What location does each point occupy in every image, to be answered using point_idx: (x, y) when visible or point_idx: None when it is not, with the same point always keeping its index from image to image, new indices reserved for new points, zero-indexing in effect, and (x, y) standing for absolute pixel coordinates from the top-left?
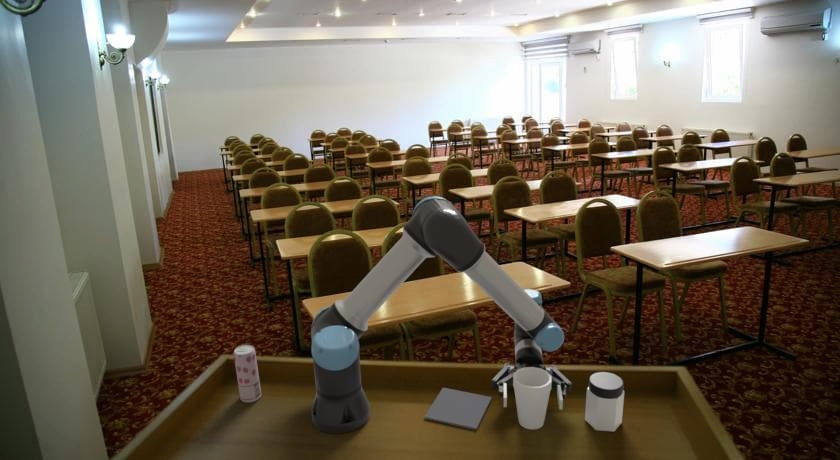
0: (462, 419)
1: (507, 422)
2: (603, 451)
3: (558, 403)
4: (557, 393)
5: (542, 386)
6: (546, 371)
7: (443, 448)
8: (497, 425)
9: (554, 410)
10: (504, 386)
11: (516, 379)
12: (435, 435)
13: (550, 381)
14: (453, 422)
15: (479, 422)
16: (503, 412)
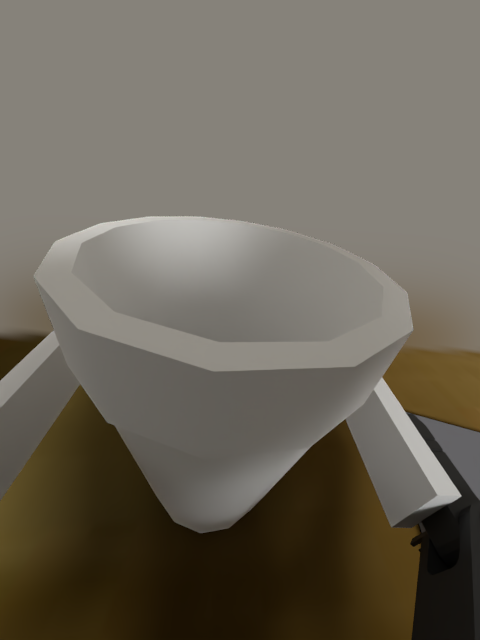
0: (462, 451)
1: (303, 456)
2: (37, 337)
3: (67, 401)
4: (3, 467)
5: (185, 217)
6: (44, 280)
7: (415, 357)
8: (333, 437)
9: (43, 595)
10: (418, 440)
11: (346, 255)
12: (469, 393)
13: (111, 223)
14: (474, 434)
15: None
16: (340, 540)
